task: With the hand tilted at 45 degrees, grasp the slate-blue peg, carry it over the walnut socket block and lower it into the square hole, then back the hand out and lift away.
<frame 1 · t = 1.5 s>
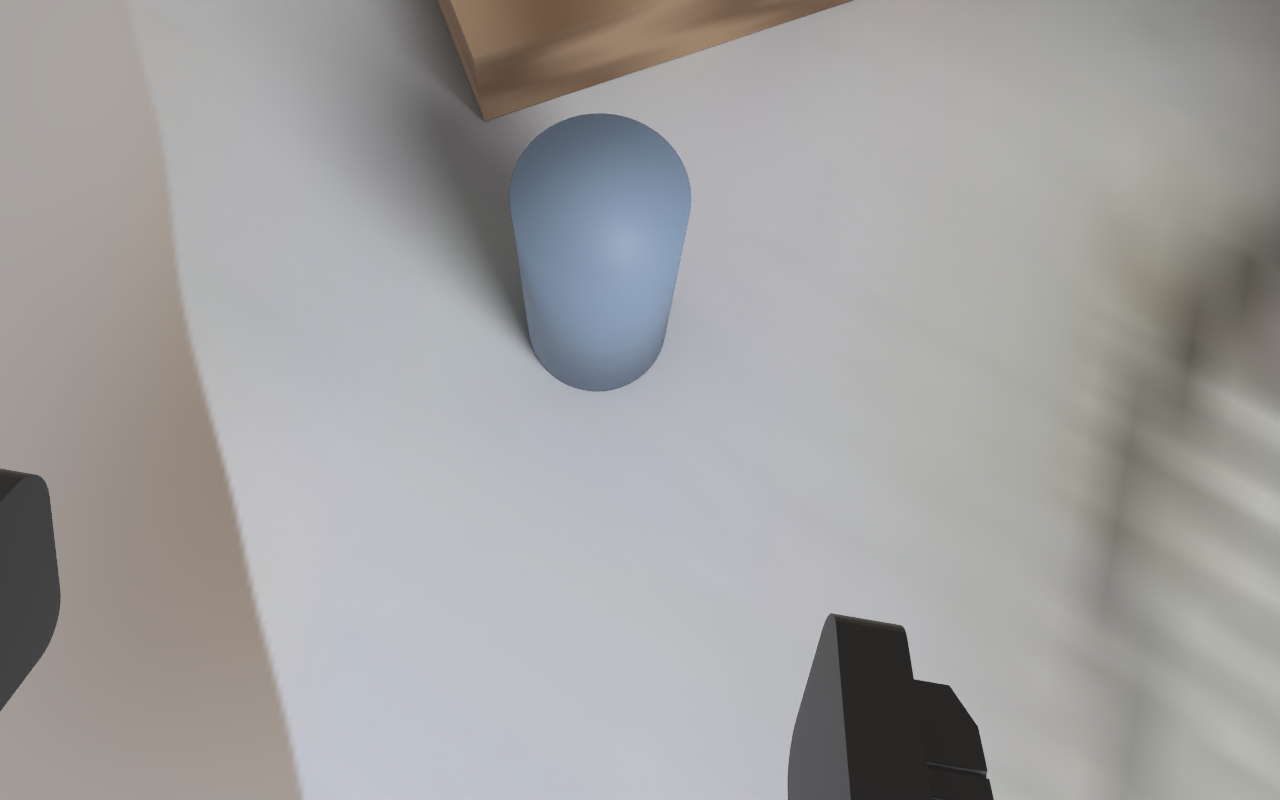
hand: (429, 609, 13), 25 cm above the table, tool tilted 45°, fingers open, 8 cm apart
peg: (597, 325, 39), on the table
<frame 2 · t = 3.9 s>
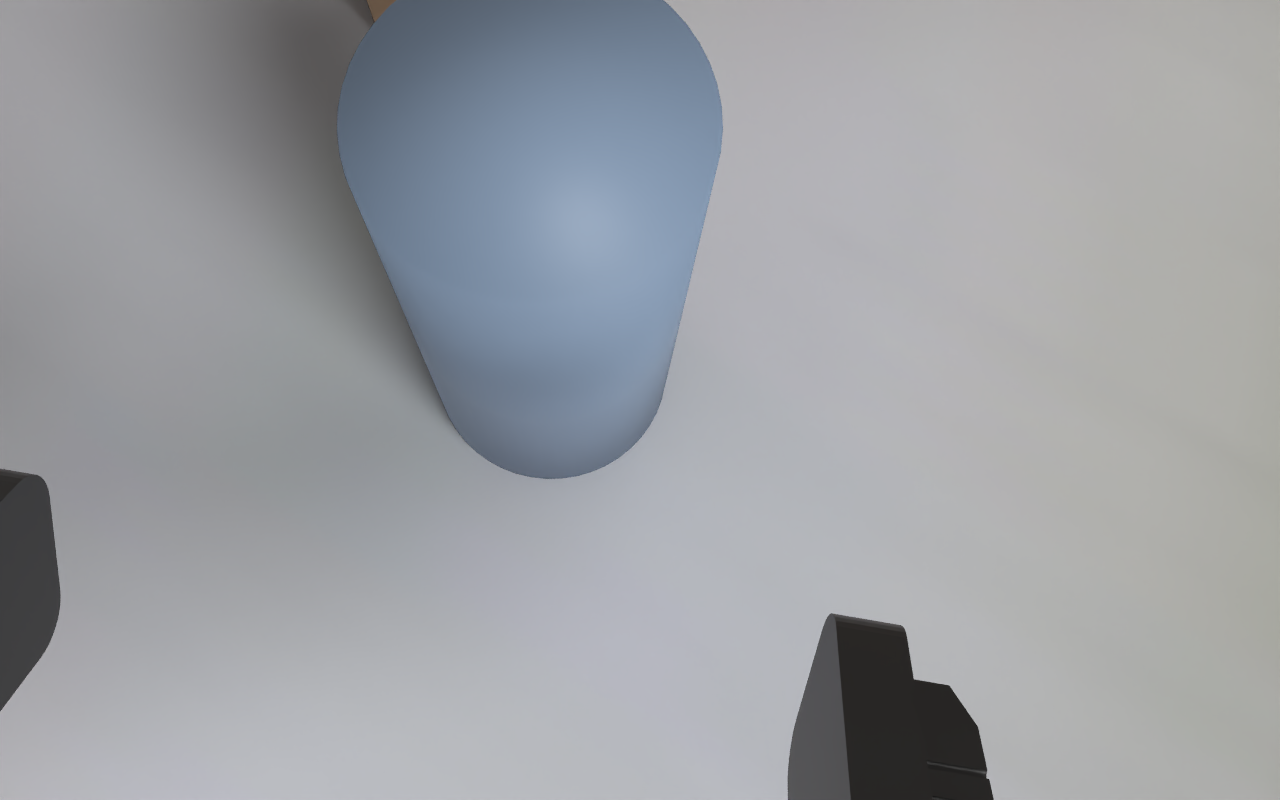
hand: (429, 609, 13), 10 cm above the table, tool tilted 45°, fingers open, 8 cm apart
peg: (552, 366, 24), on the table
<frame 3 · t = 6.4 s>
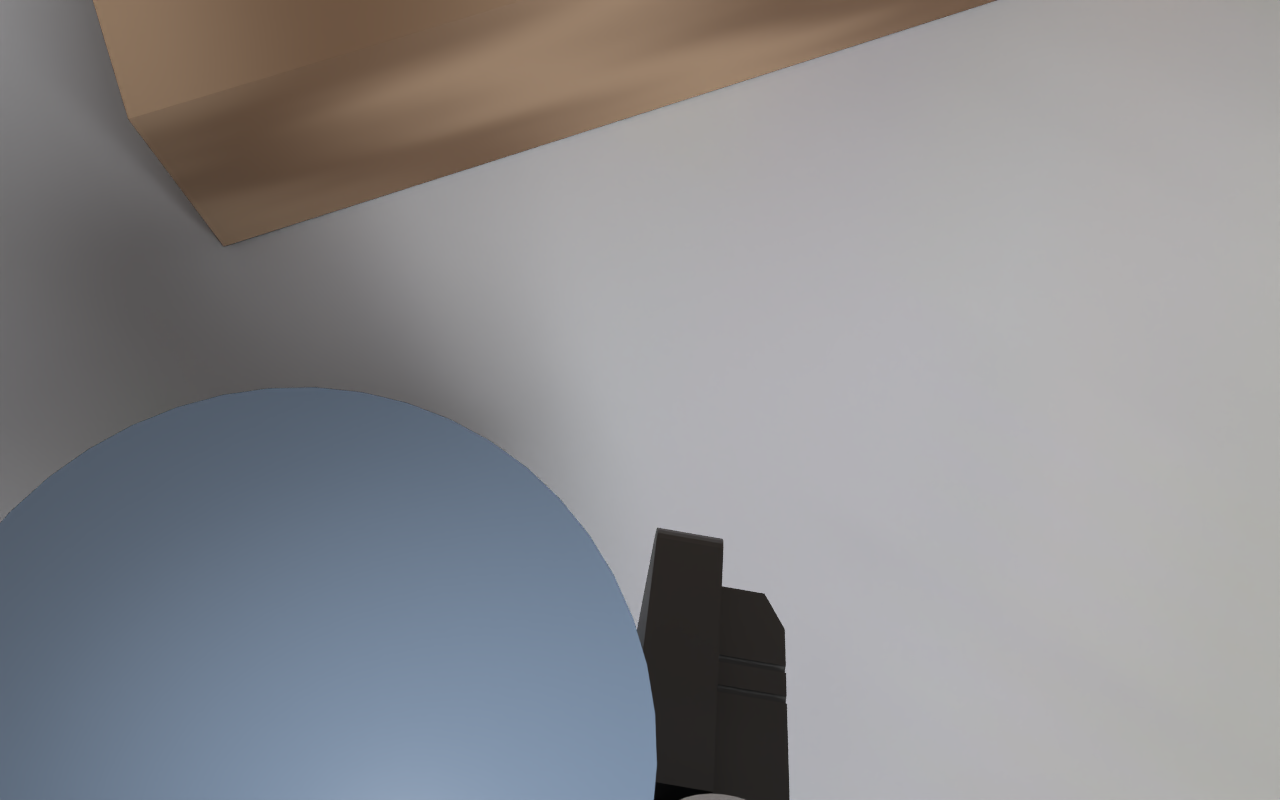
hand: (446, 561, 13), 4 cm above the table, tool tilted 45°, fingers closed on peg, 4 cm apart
peg: (451, 738, 17), on the table, touching gripper
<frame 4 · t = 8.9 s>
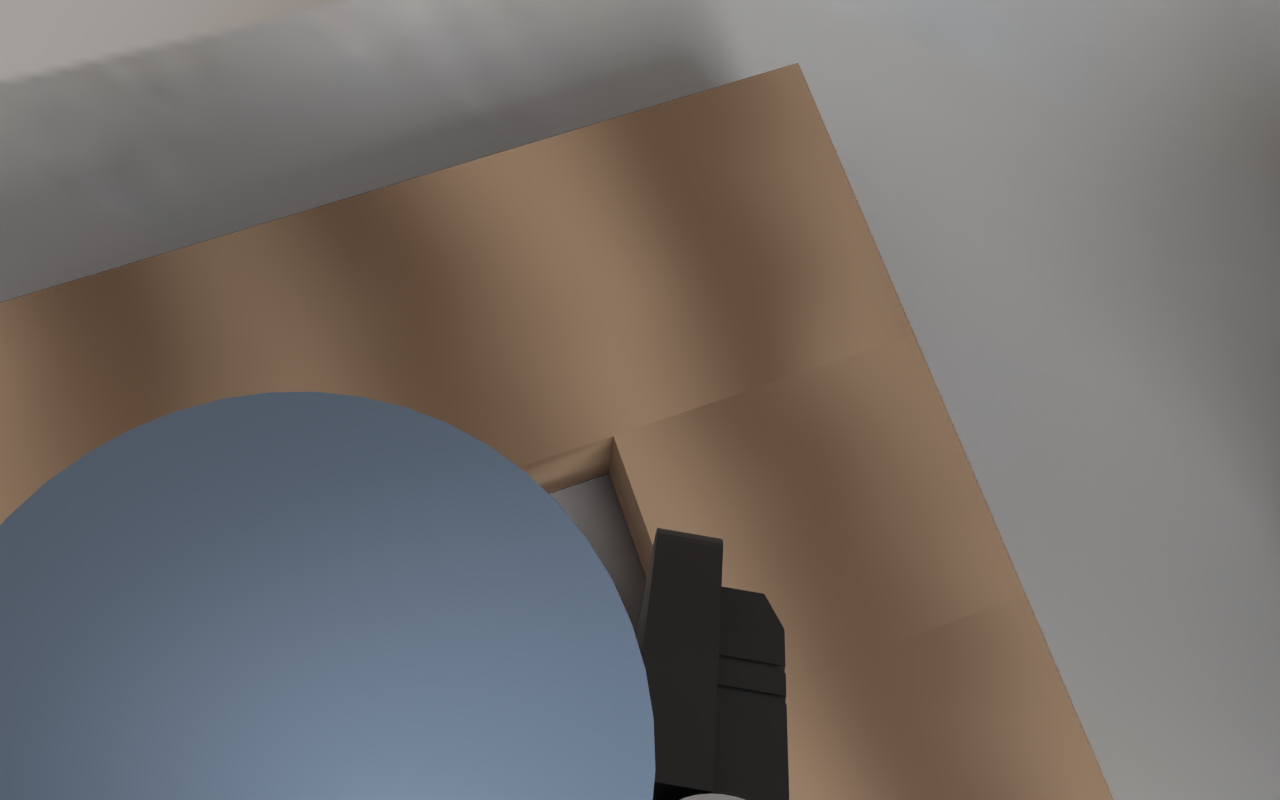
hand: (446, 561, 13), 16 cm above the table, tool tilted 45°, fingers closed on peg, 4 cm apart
peg: (451, 740, 17), point 12 cm above the table, touching gripper
socket block: (530, 632, 29), on the table
when the fingers open (6 cm above the table, at t = 11.5 s): peg drops 1 cm, resting in socket block.
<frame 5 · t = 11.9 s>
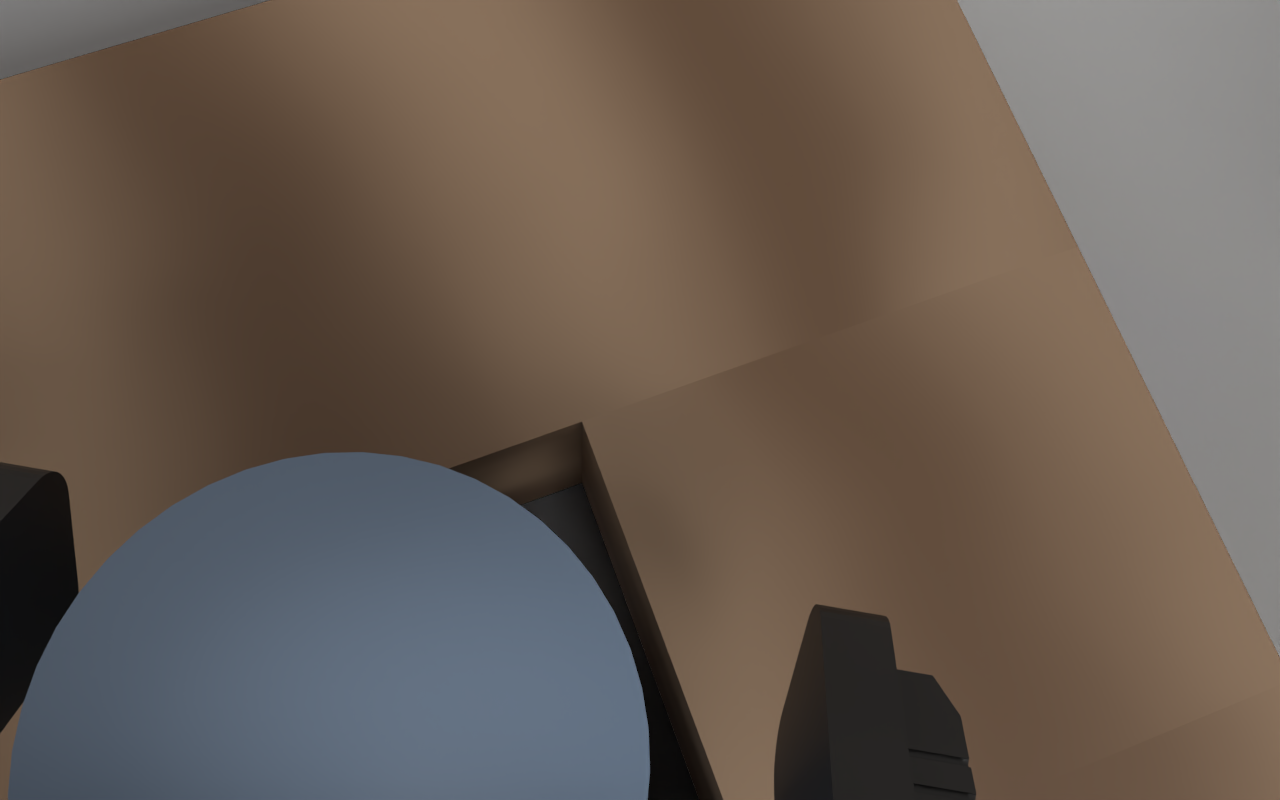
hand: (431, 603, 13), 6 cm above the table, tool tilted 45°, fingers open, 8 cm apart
peg: (465, 744, 18), resting in socket block
socket block: (460, 738, 18), on the table
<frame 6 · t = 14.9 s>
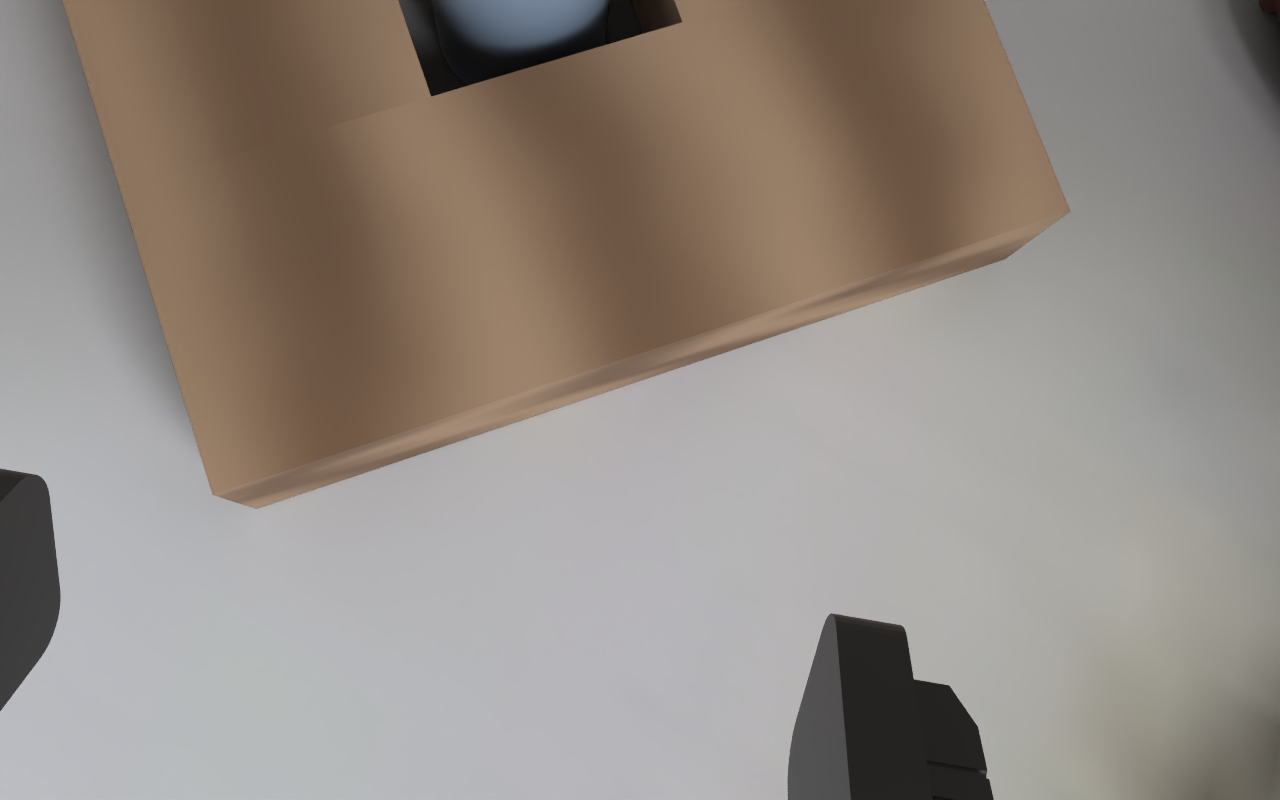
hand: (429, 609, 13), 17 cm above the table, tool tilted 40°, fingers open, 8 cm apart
peg: (522, 25, 32), resting in socket block
socket block: (519, 21, 32), on the table
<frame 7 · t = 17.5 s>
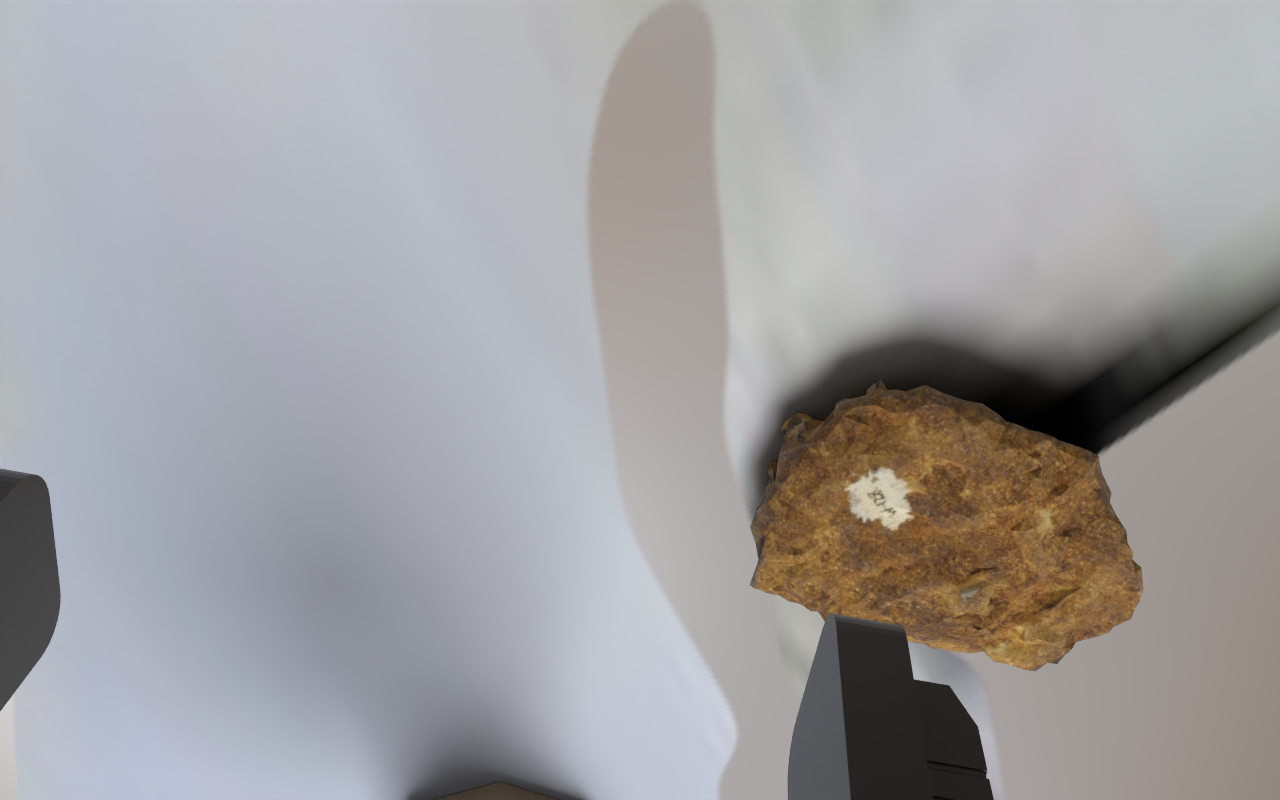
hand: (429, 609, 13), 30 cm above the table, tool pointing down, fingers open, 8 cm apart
decorative rock: (949, 505, 48), on the table
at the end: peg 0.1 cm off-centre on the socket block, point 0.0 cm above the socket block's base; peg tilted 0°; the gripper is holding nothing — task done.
